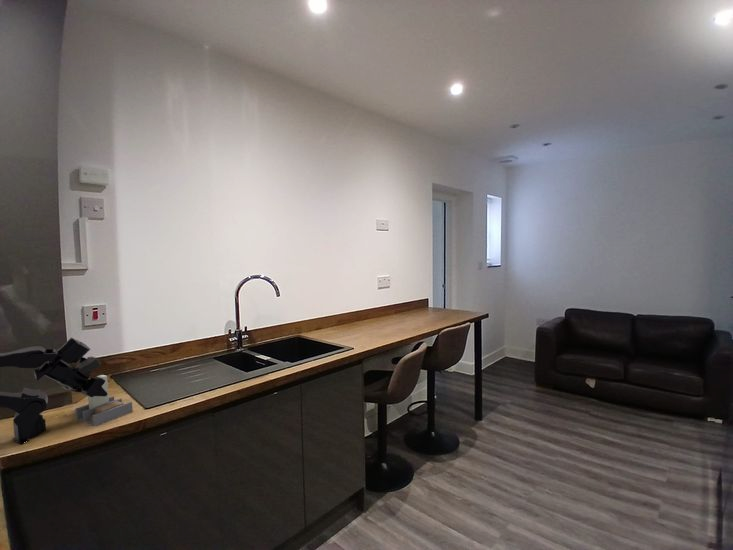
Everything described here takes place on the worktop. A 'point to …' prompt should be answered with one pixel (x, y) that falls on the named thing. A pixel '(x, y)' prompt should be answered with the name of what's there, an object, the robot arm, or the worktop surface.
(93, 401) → the pale upright slab
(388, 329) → the worktop surface
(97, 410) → the offcuts
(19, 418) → the robot arm
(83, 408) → the rack
